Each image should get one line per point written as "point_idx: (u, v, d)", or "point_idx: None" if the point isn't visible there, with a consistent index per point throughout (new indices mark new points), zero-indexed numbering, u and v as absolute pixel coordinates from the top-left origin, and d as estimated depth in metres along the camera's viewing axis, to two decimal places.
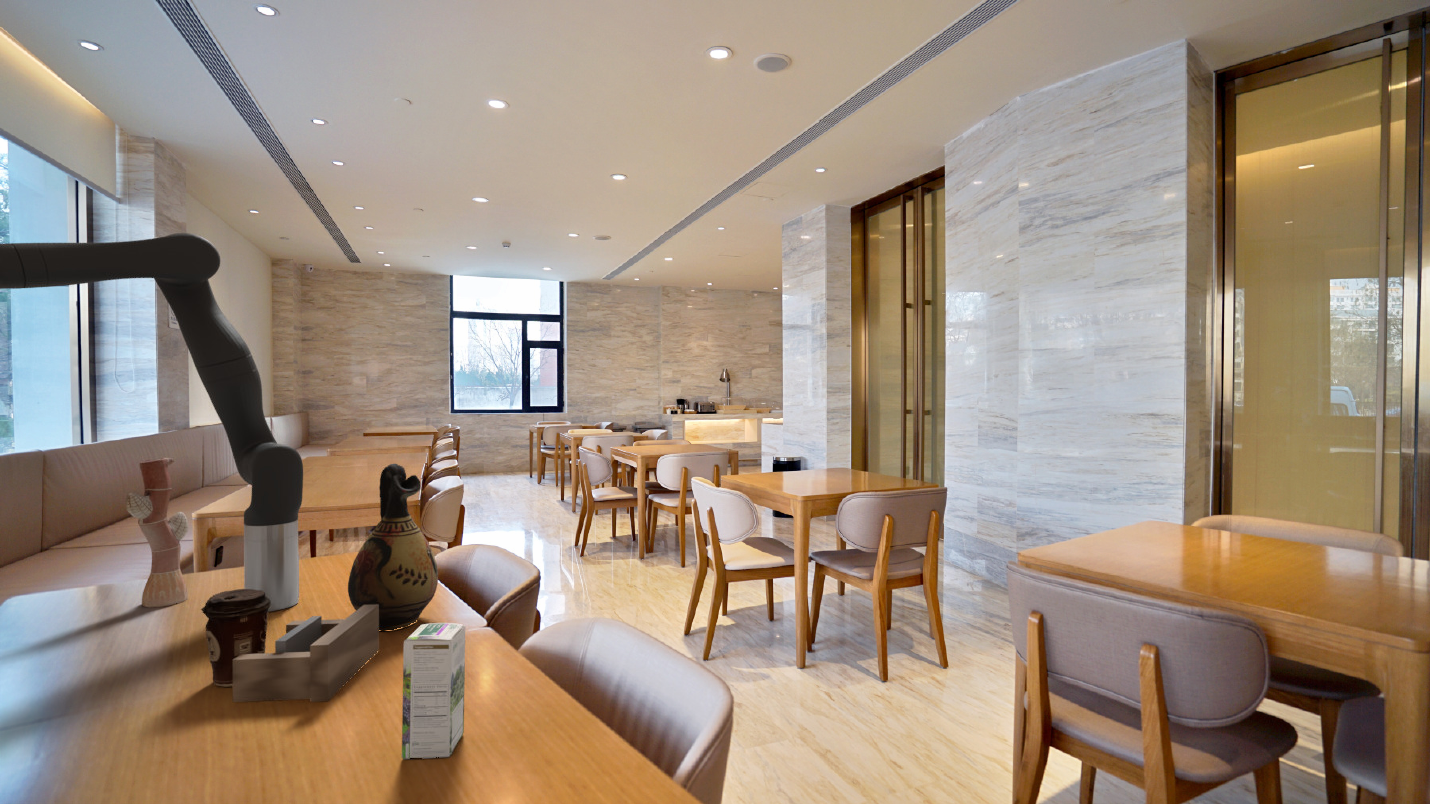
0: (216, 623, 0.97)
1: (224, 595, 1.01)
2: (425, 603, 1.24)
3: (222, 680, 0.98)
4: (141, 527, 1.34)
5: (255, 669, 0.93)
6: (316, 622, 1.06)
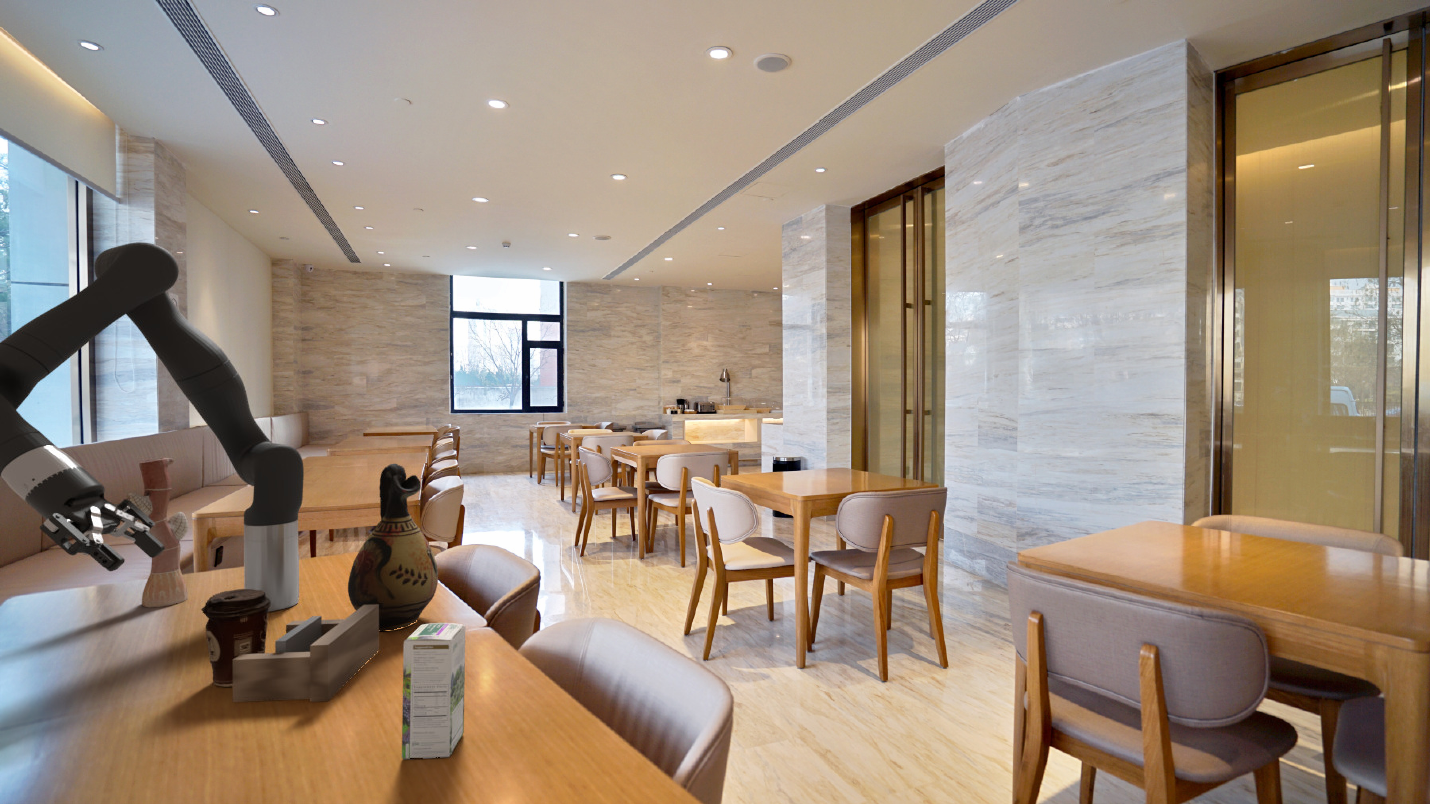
0: (216, 623, 0.97)
1: (224, 595, 1.01)
2: (425, 603, 1.24)
3: (222, 680, 0.98)
4: None
5: (255, 669, 0.93)
6: (316, 622, 1.06)
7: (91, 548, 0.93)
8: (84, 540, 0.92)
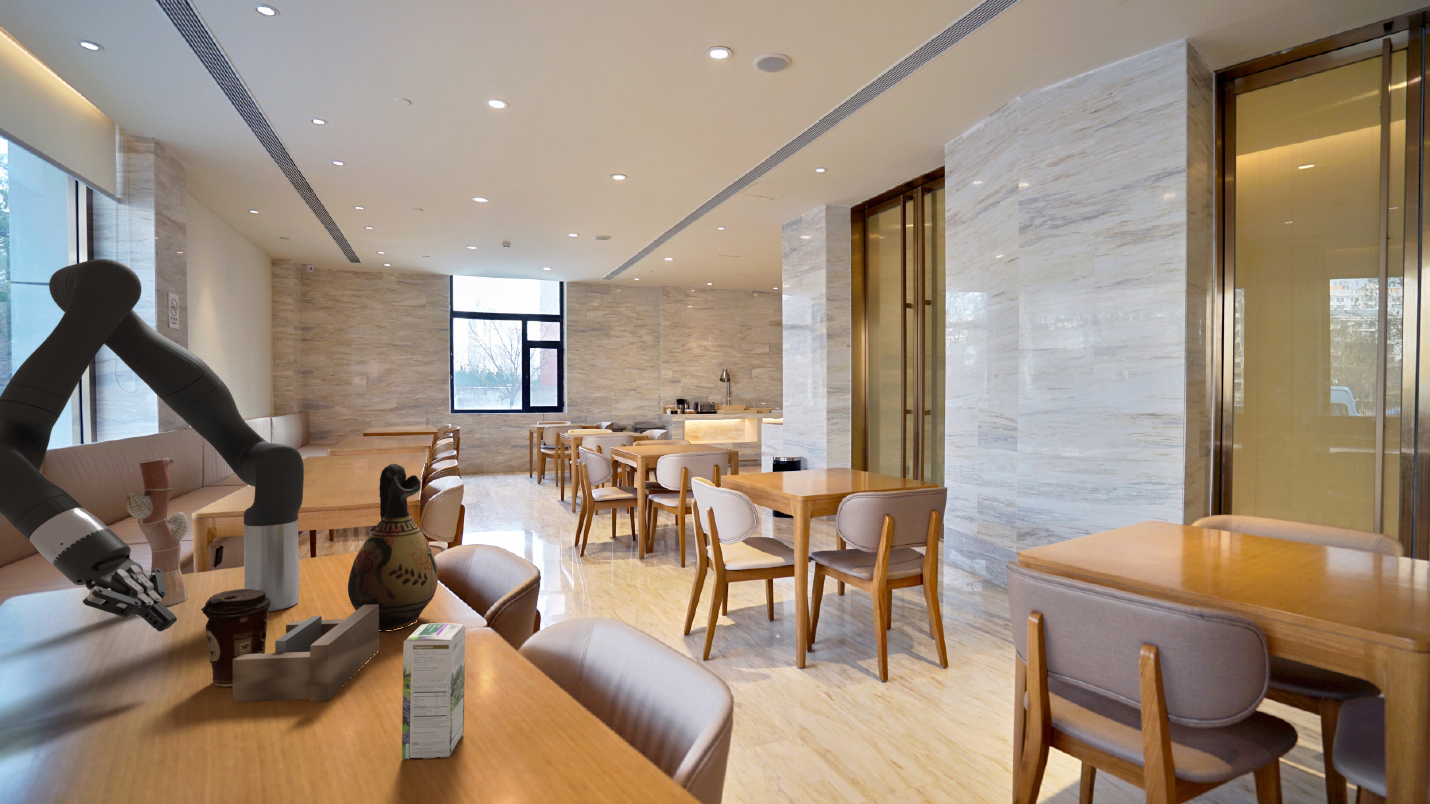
0: (216, 623, 0.97)
1: (224, 595, 1.01)
2: (425, 603, 1.24)
3: (222, 680, 0.98)
4: (141, 527, 1.34)
5: (255, 669, 0.93)
6: (316, 622, 1.06)
7: (142, 610, 0.97)
8: (136, 602, 0.96)
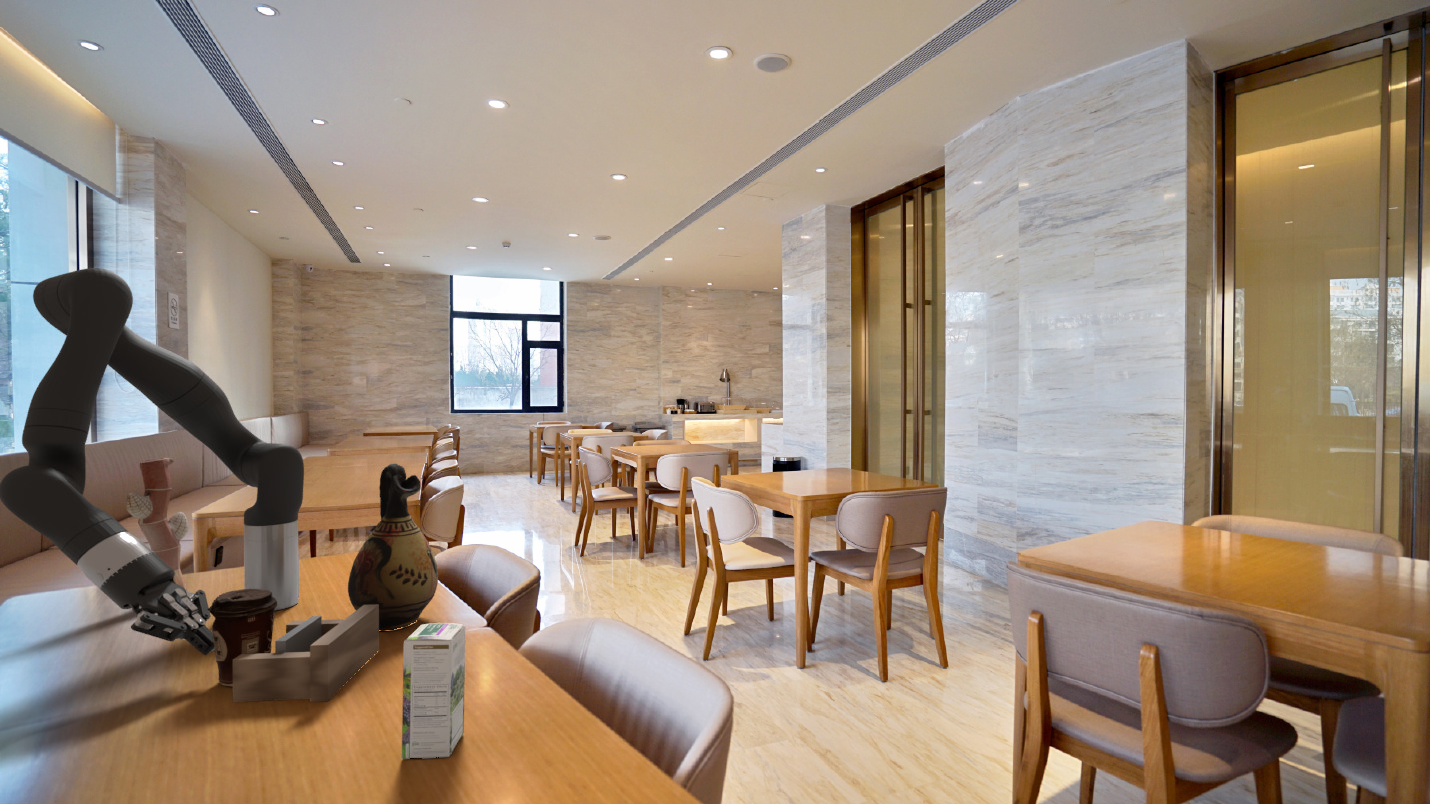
0: (223, 623, 0.97)
1: (230, 594, 1.01)
2: (425, 603, 1.24)
3: (228, 680, 0.98)
4: (141, 527, 1.34)
5: (255, 669, 0.93)
6: (316, 622, 1.06)
7: (188, 633, 0.98)
8: (182, 627, 0.97)
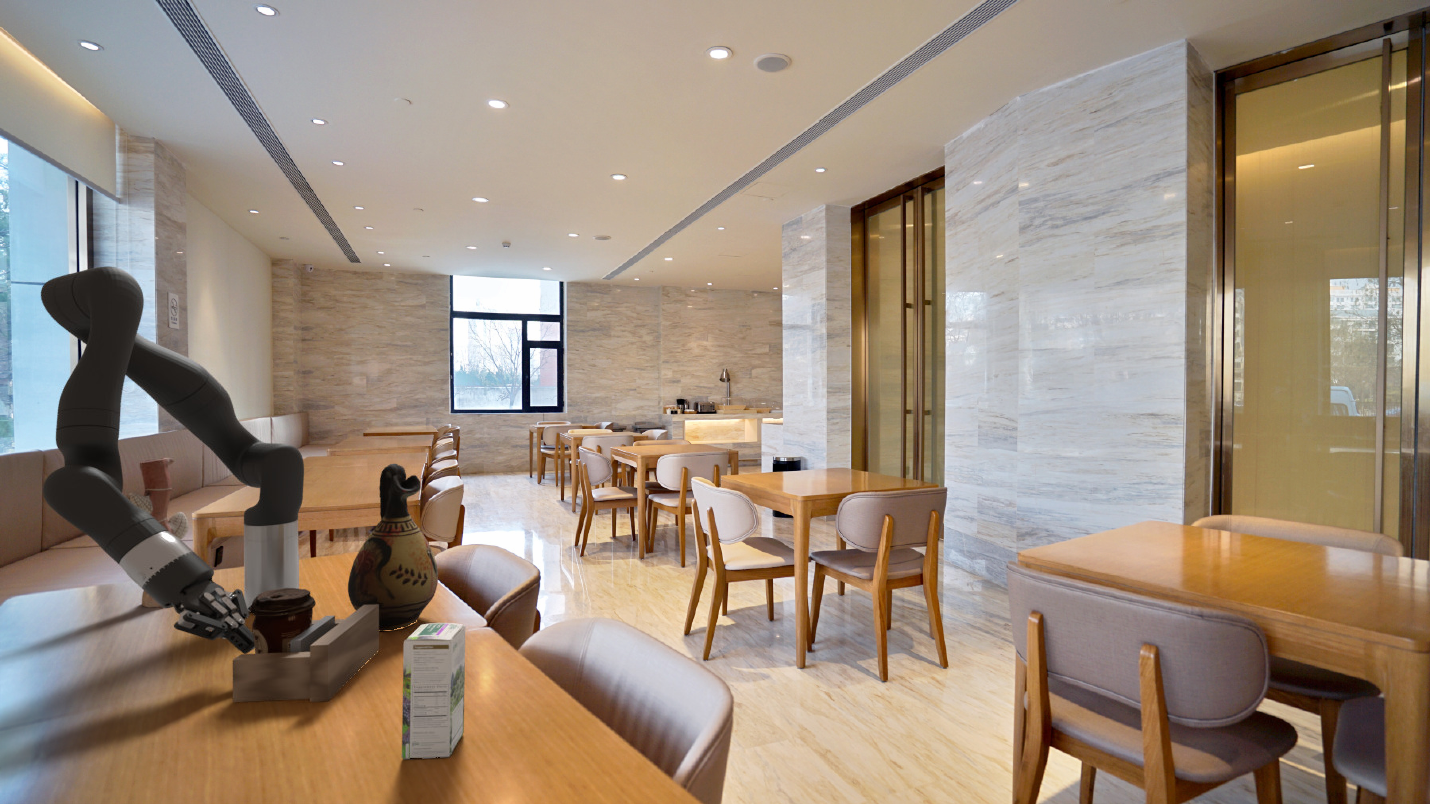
0: (264, 622, 0.98)
1: (269, 594, 1.01)
2: (425, 603, 1.24)
3: None
4: None
5: (255, 669, 0.93)
6: (330, 621, 1.06)
7: (228, 632, 0.99)
8: (223, 626, 0.98)
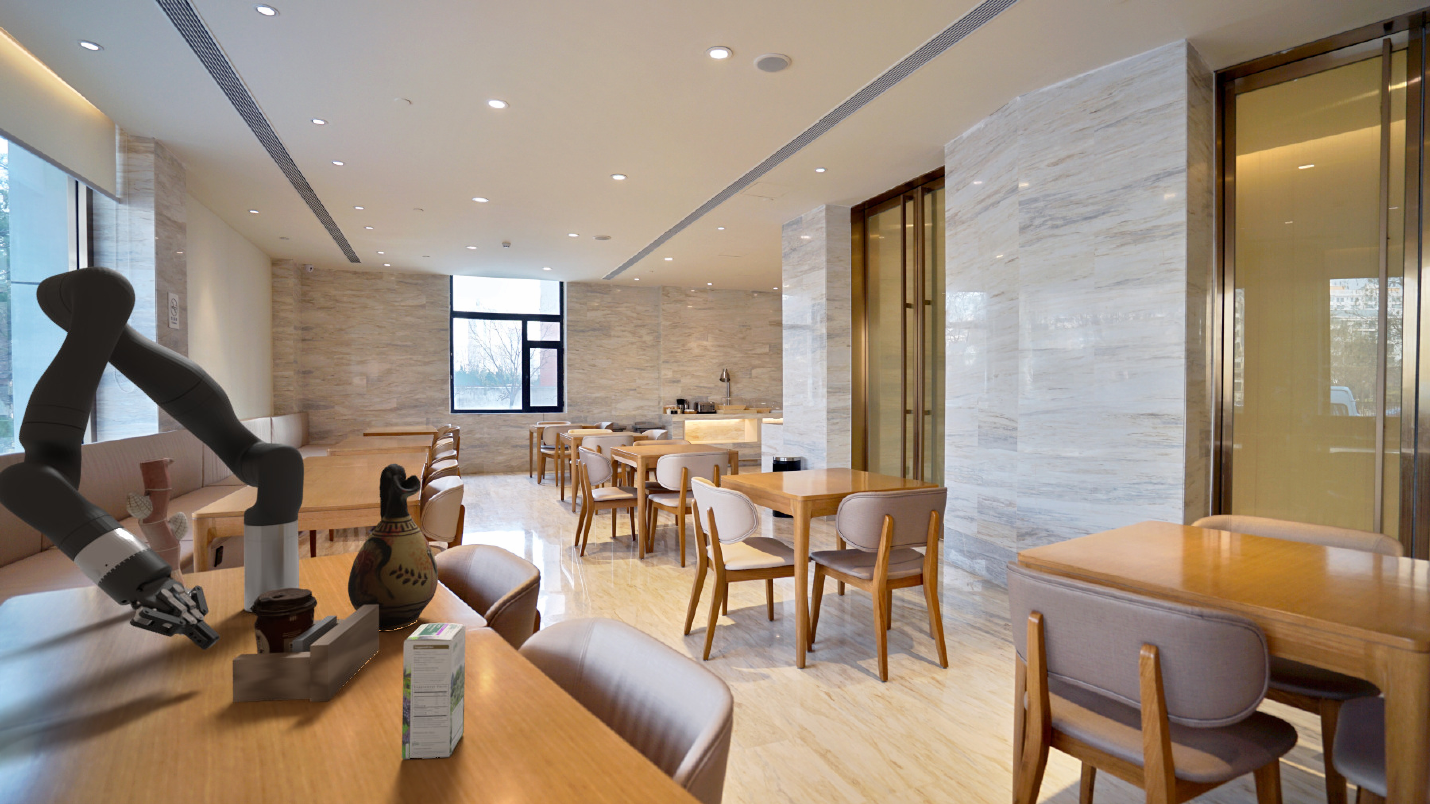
0: (265, 622, 0.98)
1: (271, 593, 1.01)
2: (425, 603, 1.24)
3: None
4: (141, 527, 1.34)
5: (255, 669, 0.93)
6: (332, 621, 1.06)
7: (187, 629, 0.98)
8: (181, 622, 0.97)
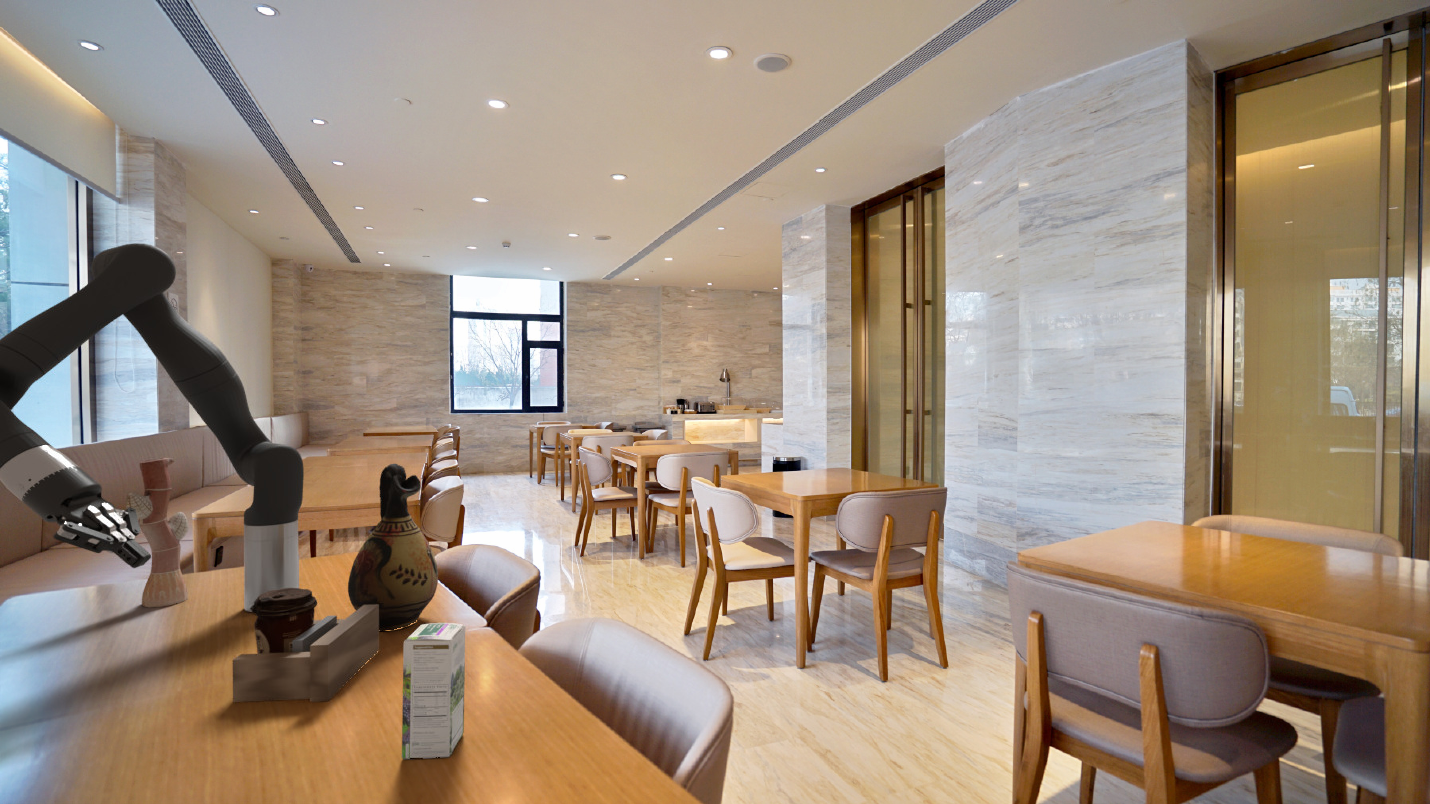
0: (265, 622, 0.98)
1: (271, 593, 1.01)
2: (425, 603, 1.24)
3: None
4: (141, 527, 1.34)
5: (255, 669, 0.93)
6: (332, 621, 1.06)
7: (115, 546, 0.97)
8: (108, 538, 0.96)
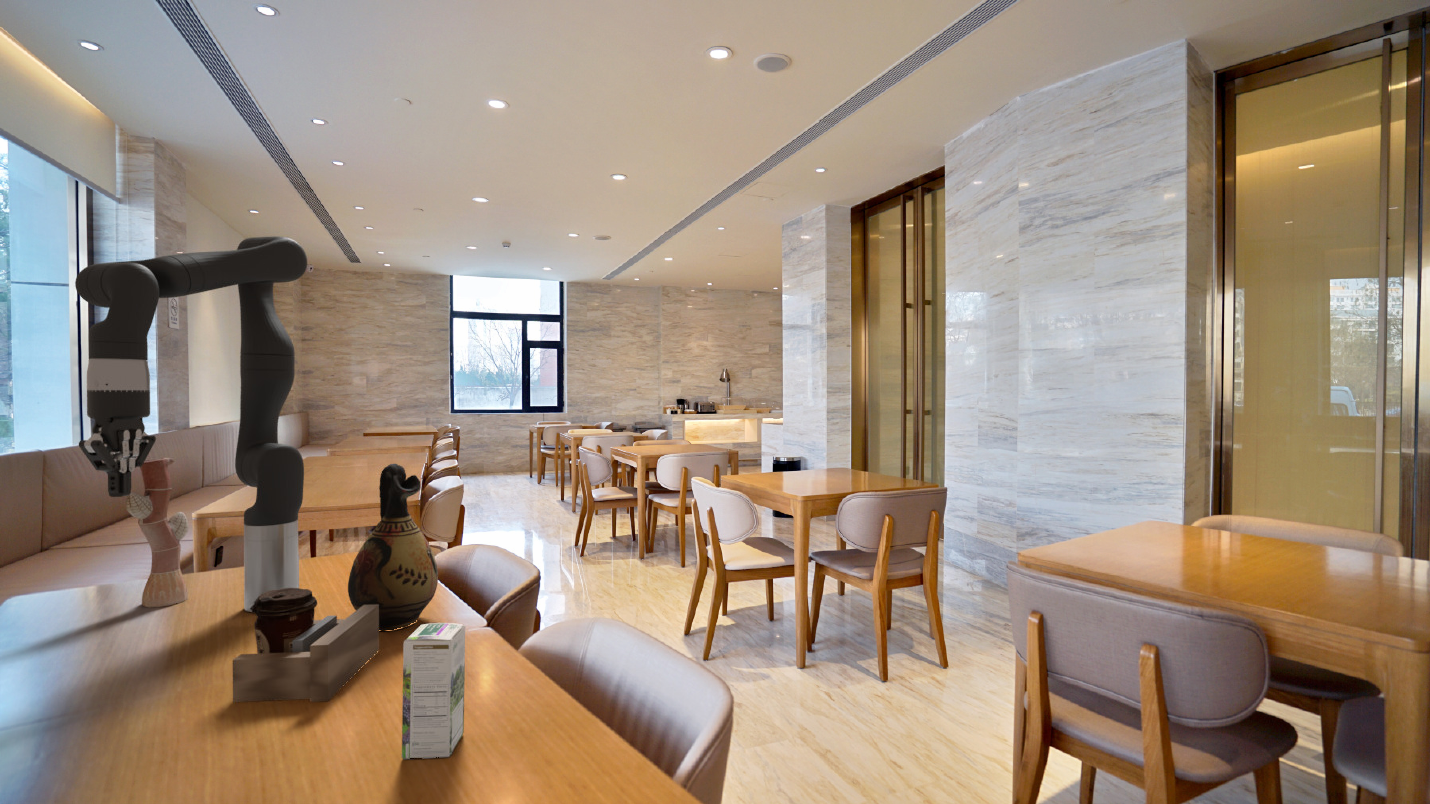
0: (265, 622, 0.98)
1: (271, 593, 1.01)
2: (425, 603, 1.24)
3: None
4: (141, 527, 1.34)
5: (255, 669, 0.93)
6: (332, 621, 1.06)
7: (113, 472, 1.04)
8: (114, 467, 1.03)
